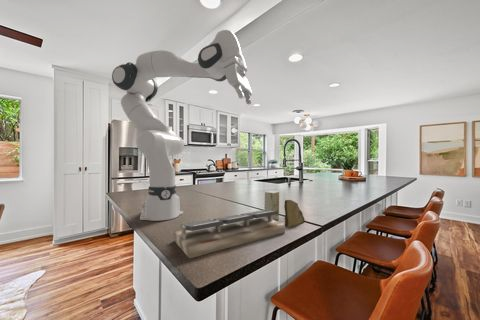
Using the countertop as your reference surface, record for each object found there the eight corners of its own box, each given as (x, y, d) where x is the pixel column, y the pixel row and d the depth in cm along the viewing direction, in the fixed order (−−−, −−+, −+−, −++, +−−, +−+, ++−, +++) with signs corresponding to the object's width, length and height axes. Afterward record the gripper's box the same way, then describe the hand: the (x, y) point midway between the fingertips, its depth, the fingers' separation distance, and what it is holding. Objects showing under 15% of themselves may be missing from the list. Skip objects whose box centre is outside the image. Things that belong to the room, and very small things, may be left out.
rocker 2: (240, 217, 78) (240, 214, 78) (261, 213, 84) (260, 210, 84) (256, 218, 70) (256, 214, 70) (278, 214, 76) (277, 210, 76)
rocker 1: (181, 228, 65) (180, 224, 66) (209, 223, 71) (209, 219, 71) (192, 231, 57) (191, 226, 57) (223, 224, 63) (223, 220, 63)
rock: (300, 213, 92) (279, 210, 91) (308, 200, 87) (285, 197, 86) (307, 234, 84) (283, 232, 83) (315, 222, 79) (290, 219, 78)
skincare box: (272, 221, 88) (272, 193, 87) (263, 219, 90) (264, 192, 90) (279, 218, 93) (279, 191, 93) (271, 216, 95) (271, 190, 95)
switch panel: (174, 241, 66) (174, 221, 66) (260, 222, 86) (260, 206, 86) (189, 258, 55) (189, 234, 55) (284, 232, 75) (284, 214, 75)
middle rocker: (213, 222, 72) (213, 218, 72) (237, 218, 77) (237, 214, 77) (227, 224, 64) (227, 219, 64) (253, 219, 69) (252, 215, 69)
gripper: (237, 81, 94) (246, 109, 93) (218, 62, 75) (229, 97, 74) (250, 75, 92) (259, 103, 91) (233, 54, 73) (244, 90, 72)
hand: (245, 101), depth 82 cm, fingers open, 8 cm apart
